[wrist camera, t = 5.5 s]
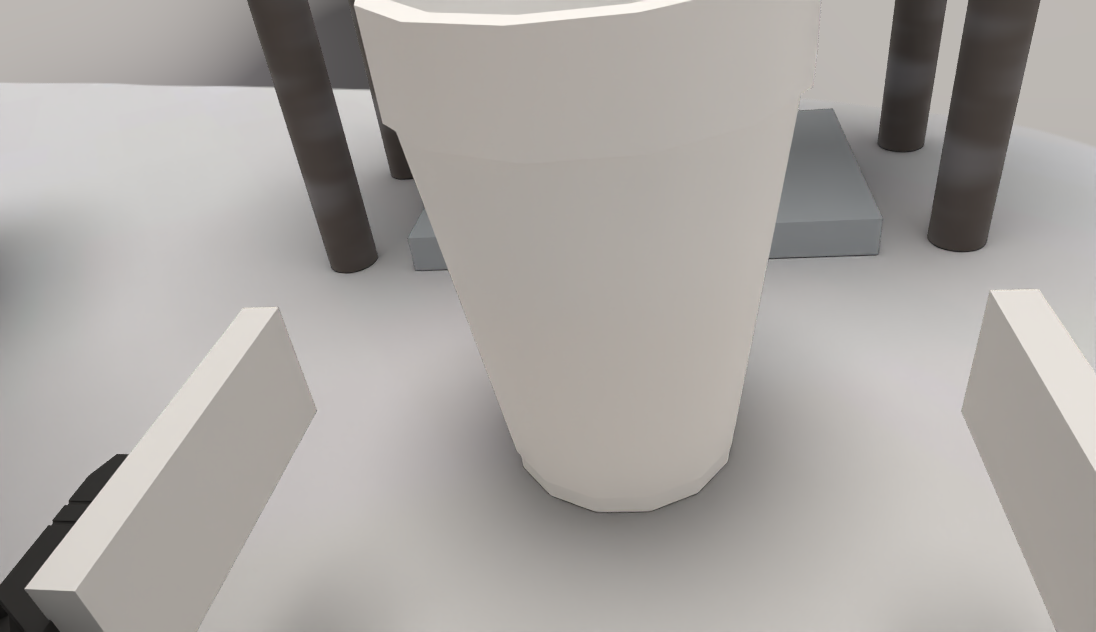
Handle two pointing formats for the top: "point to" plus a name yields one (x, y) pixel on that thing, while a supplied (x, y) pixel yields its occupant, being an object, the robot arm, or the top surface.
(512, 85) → the foam cup
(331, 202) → the wooden top stool
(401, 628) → the top surface
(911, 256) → the top surface
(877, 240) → the shelf board
